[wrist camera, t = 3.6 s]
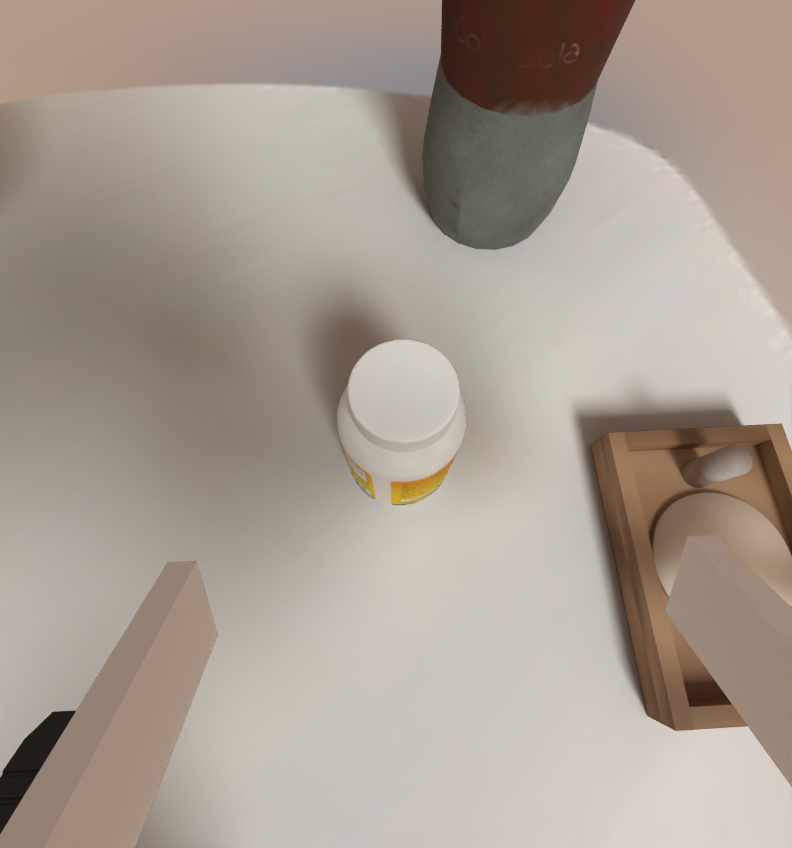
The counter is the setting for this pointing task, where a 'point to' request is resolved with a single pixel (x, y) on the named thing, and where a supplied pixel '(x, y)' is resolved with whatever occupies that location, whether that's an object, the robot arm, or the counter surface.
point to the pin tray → (667, 533)
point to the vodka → (511, 111)
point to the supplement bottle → (401, 421)
